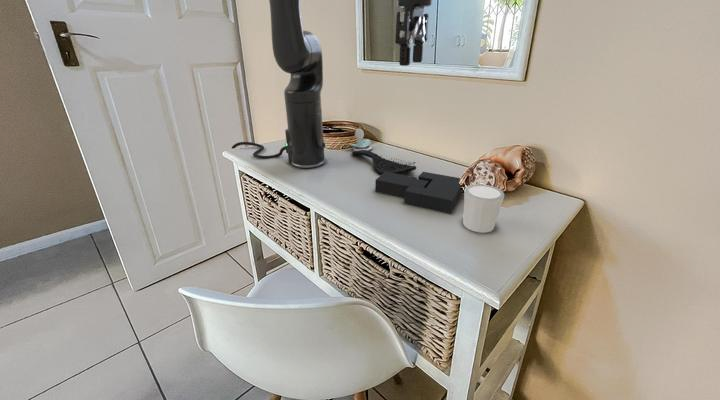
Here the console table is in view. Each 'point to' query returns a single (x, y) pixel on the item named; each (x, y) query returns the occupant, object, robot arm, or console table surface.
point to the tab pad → (396, 183)
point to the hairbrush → (385, 163)
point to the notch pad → (435, 192)
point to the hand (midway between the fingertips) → (411, 63)
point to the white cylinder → (481, 207)
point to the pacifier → (361, 141)
